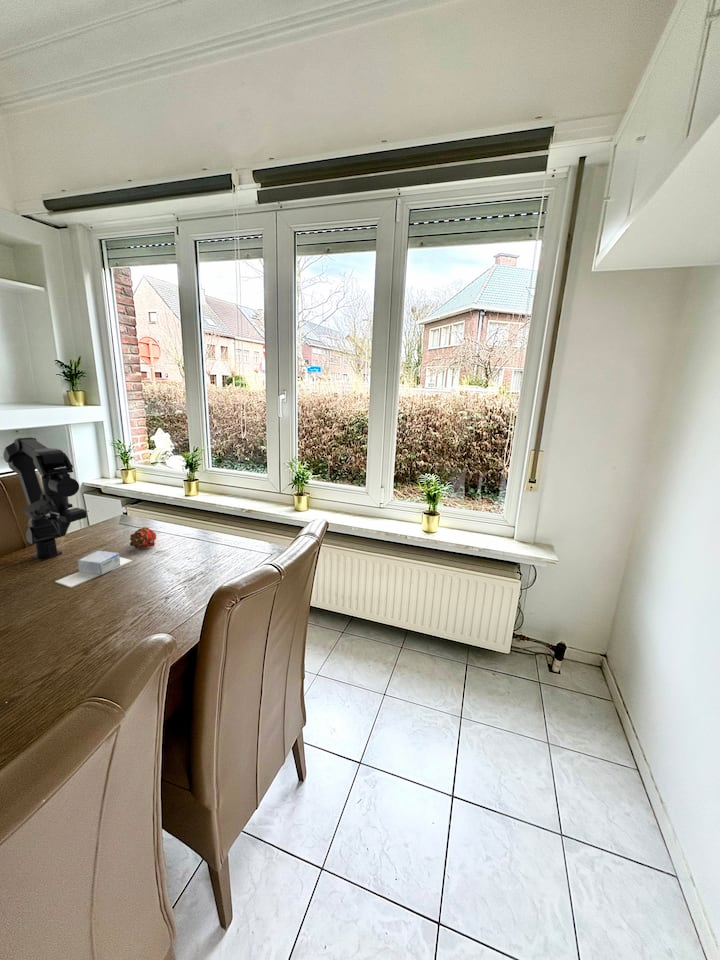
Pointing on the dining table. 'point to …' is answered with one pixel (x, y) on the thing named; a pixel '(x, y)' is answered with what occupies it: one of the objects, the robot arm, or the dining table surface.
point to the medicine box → (99, 562)
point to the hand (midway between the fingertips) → (62, 535)
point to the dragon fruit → (143, 538)
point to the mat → (85, 576)
